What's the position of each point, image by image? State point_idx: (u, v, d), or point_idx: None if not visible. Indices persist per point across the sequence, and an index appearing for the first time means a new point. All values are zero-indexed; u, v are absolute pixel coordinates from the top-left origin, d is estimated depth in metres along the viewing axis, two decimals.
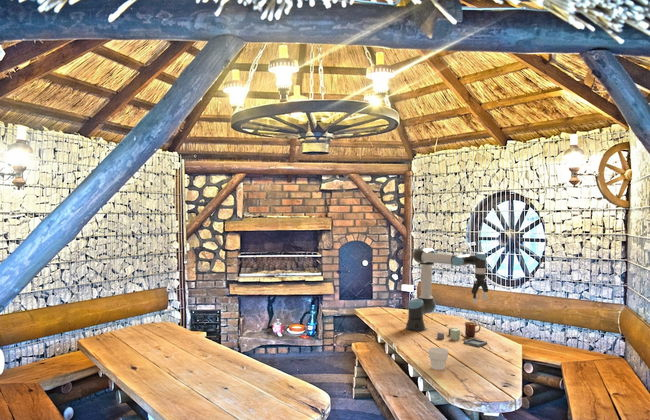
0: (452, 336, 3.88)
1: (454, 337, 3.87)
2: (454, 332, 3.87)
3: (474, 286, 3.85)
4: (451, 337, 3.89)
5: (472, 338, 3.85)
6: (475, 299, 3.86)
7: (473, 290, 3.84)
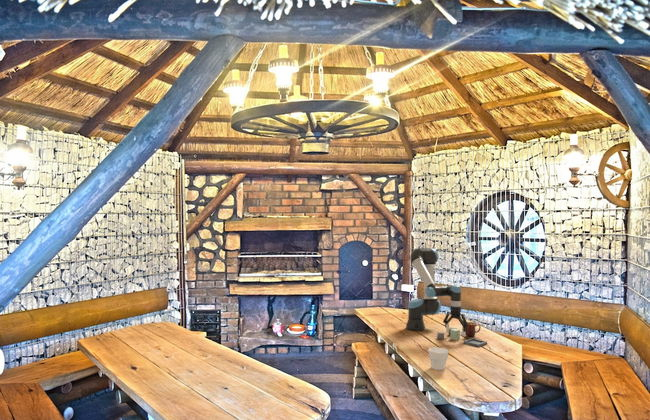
0: (452, 336, 3.88)
1: (454, 337, 3.87)
2: (454, 332, 3.87)
3: None
4: (451, 337, 3.89)
5: (472, 338, 3.85)
6: None
7: None
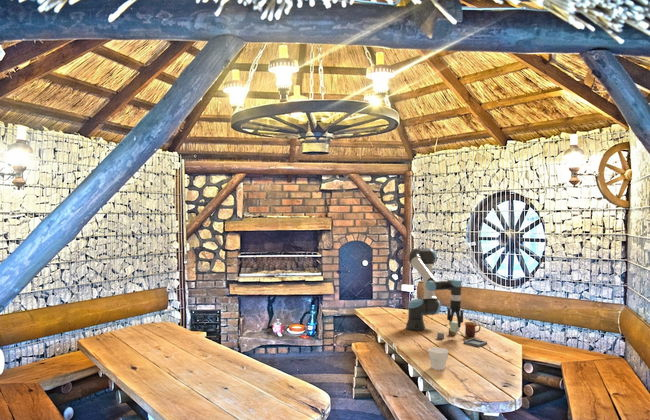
0: (452, 328, 3.88)
1: (453, 329, 3.87)
2: (454, 324, 3.87)
3: None
4: (451, 329, 3.89)
5: (472, 338, 3.85)
6: None
7: None
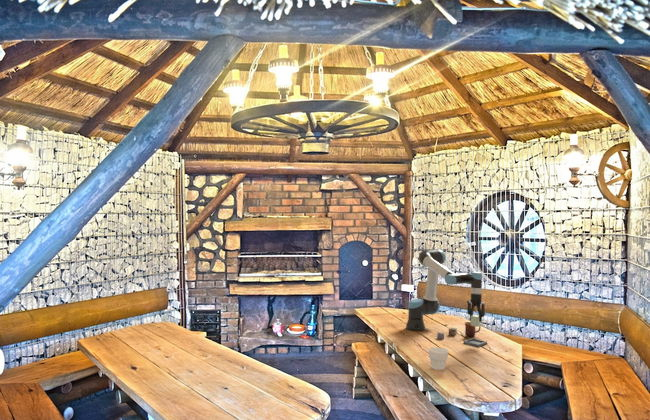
0: (473, 322, 3.75)
1: (474, 323, 3.74)
2: (475, 318, 3.74)
3: None
4: (472, 323, 3.76)
5: (472, 338, 3.85)
6: None
7: None
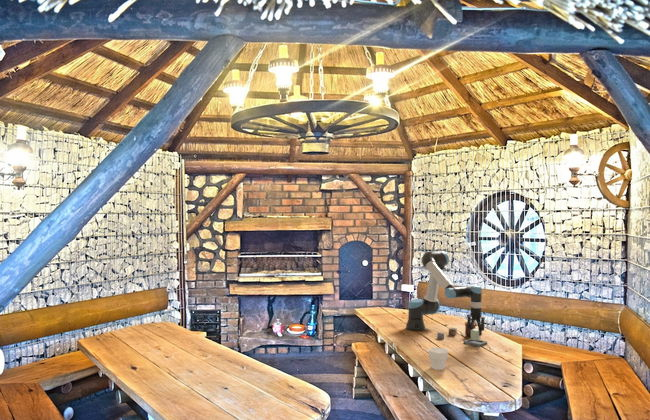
0: (473, 336, 3.75)
1: (474, 337, 3.74)
2: (475, 332, 3.74)
3: None
4: (471, 337, 3.76)
5: None
6: None
7: None
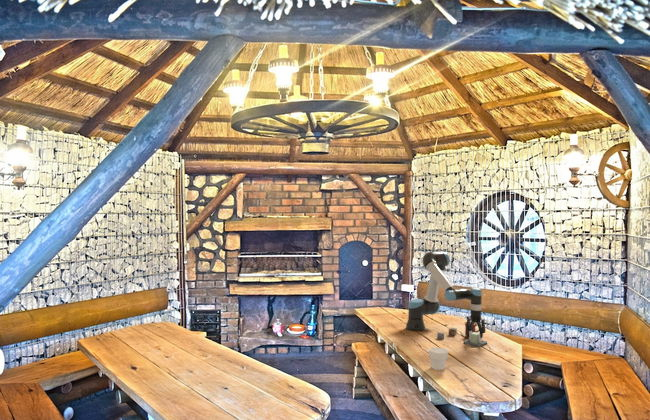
0: (472, 340, 3.76)
1: (474, 340, 3.75)
2: (474, 336, 3.74)
3: None
4: (471, 341, 3.76)
5: None
6: None
7: None
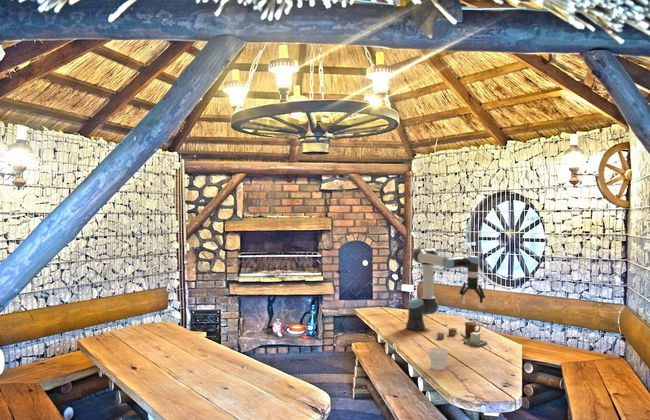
0: (472, 340, 3.76)
1: (474, 340, 3.75)
2: (474, 336, 3.74)
3: None
4: (471, 341, 3.76)
5: None
6: None
7: None
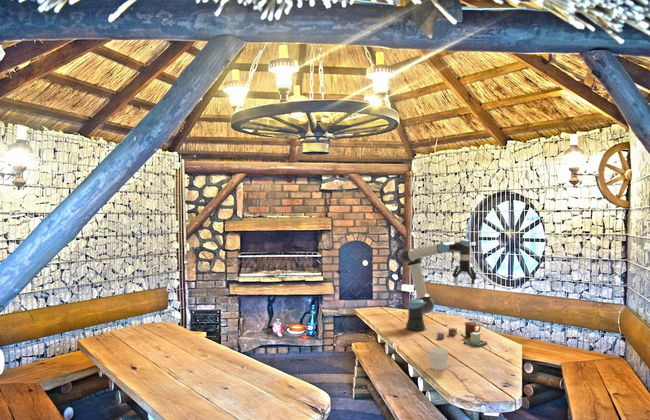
0: (472, 340, 3.76)
1: (474, 340, 3.75)
2: (474, 336, 3.74)
3: None
4: (471, 341, 3.76)
5: None
6: None
7: None
